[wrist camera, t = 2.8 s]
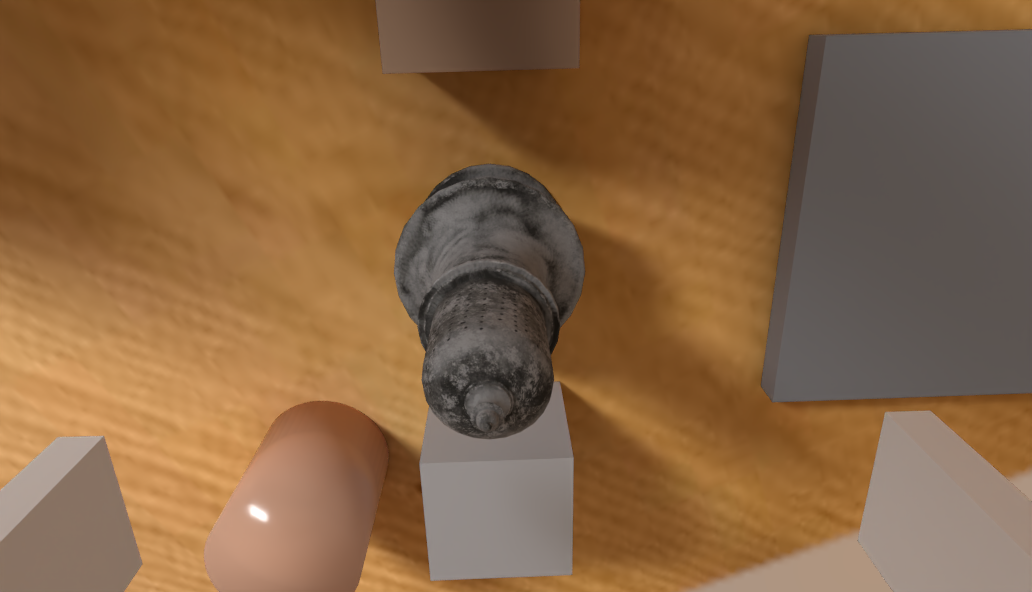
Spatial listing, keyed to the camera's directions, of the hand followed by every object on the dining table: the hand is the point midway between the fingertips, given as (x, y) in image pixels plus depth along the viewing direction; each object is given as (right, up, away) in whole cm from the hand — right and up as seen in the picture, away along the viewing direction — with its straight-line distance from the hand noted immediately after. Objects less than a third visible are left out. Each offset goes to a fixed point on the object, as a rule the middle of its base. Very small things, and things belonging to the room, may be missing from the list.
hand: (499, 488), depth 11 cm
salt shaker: (-1, +5, +12) cm, 14 cm away
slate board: (+16, +6, +13) cm, 21 cm away
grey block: (0, -2, +16) cm, 16 cm away
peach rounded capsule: (-7, -3, +16) cm, 18 cm away
